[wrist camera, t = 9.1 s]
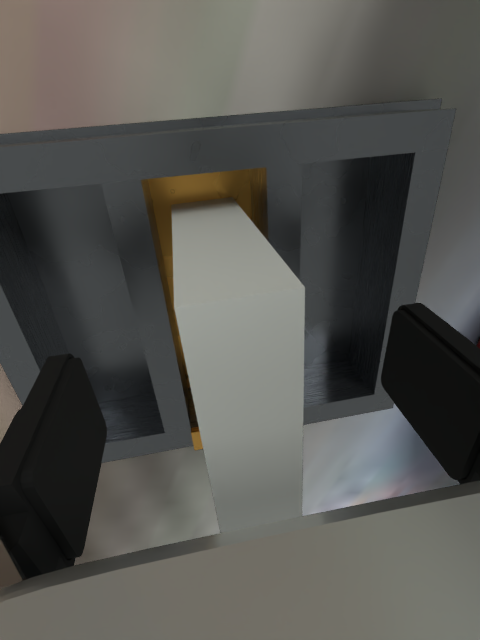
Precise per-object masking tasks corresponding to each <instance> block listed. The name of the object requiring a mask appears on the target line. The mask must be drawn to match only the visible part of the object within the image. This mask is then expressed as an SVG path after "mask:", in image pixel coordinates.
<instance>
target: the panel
mask: <svg viewBox="0 0 480 640" xmlns="http://www.w3.org/2000/svg"><path fill="white" fill-rule="evenodd" d="M171 209H172V246H173V283H174V309H175V314H176V319H177V324H178V329H179V334H180V338H181V343H182V348H183V353H184V358H185V363H186V368H187V372H188V377H189V382H190V387H191V392H192V397H193V402H194V406H195V411H196V416H197V421H198V426H199V431H200V436H201V440H202V445H203V450H204V455H205V460H206V465H207V469H208V474H209V479H210V484H211V489H212V494H213V499H214V503H215V508H216V513H217V518H218V523H219V528H220V533H225V532H230V531H235V530H239V529H244V528H249V527H253V526H258V525H263V524H268V523H273V522H278V521H282V520H287V519H292V518H297V517H302V480H303V403H304V326H305V287H304V285H303V284H302V283H301V282H300V281H299V279H298V278H297V277H296V276H295V274H294V273H293V272H292V271H291V269H290V268H289V267H288V266H287V264H286V263H285V262H284V261H283V259H282V258H281V257H280V256H279V254H278V253H277V252H276V251H275V249H274V248H273V247H272V246H271V245H270V243H269V242H268V241H267V240H266V238H265V237H264V236H263V235H262V233H261V232H260V231H259V230H258V228H257V227H256V226H255V225H254V223H253V222H252V221H251V220H250V218H249V217H248V216H247V215H246V213H245V212H244V211H243V210H242V209H241V207H240V206H239V205H238V204H237V202H236V201H235V200H234V199H233V197H229V198H221V199H213V200H205V201H197V202H189V203H181V204H173V205H171Z"/></svg>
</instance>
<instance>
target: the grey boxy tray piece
mask: <svg viewBox="0 0 480 640" xmlns="http://www.w3.org/2000/svg"><path fill="white" fill-rule="evenodd" d="M441 101H442V99H428V100H416V101H404V102H391V103H379V104H366V105H354V106H342V107H329V108H317V109H305V110H292V111H280V112H268V113H255V114H243V115H230V116H218V117H206V118H193V119H181V120H169V121H156V122H144V123H132V124H119V125H107V126H94V127H82V128H70V129H57V130H45V131H33V132H20V133H8V134H0V363H1V365H2V367H3V369H4V371H5V373H6V375H7V377H8V379H9V380H10V382H11V384H12V386H13V388H14V390H15V392H16V394H17V396H18V397H19V399H20V401H21V403H22V405H23V404H24V402H25V400H26V398H27V397H28V395H29V393H30V391H31V389H32V387H33V385H34V383H35V381H36V379H37V377H38V375H39V373H40V371H41V369H42V367H43V365H44V363H45V361H46V359H47V358H48V357H50V356H56V355H63V354H72V355H73V356H74V358H78V357H79V358H80V359H81V360H82V362H83V365H84V368H85V370H86V373H87V375H88V378H89V381H90V383H91V386H92V388H93V391H94V394H95V396H96V399H97V401H98V404H99V407H100V409H101V412H102V414H103V417H104V420H105V422H106V426H107V438H106V443H105V447H104V452H103V457H102V462H101V463H104V462H109V461H115V460H120V459H125V458H130V457H136V456H141V455H146V454H152V453H157V452H162V451H167V450H173V449H178V448H183V447H189V446H194V450H199V449H203V445H202V440H201V436H200V431H199V426H198V421H197V416H196V411H195V406H194V402H193V397H192V392H191V387H190V382H189V377H188V372H187V368H186V363H185V358H184V353H183V348H182V343H181V338H180V334H179V329H178V324H177V319H176V314H175V309H174V283H173V246H172V209H171V205H173V204H181V203H189V202H197V201H205V200H213V199H221V198H229V197H233V199H234V200H235V201H236V202H237V204H238V205H239V206H240V207H241V209H242V210H243V211H244V212H245V213H246V215H247V216H248V217H249V218H250V220H251V221H252V222H253V223H254V225H255V226H256V227H257V228H258V230H259V231H260V232H261V233H262V235H263V236H264V237H265V238H266V240H267V241H268V242H269V243H270V245H271V246H272V247H273V248H274V249H275V251H276V252H277V253H278V254H279V256H280V257H281V258H282V259H283V261H284V262H285V263H286V264H287V266H288V267H289V268H290V269H291V271H292V272H293V273H294V274H295V276H296V277H297V278H298V279H299V281H300V282H301V283H302V284H303V285H304V287H305V326H304V403H303V425H305V424H310V423H316V422H321V421H326V420H332V419H337V418H342V417H347V416H353V415H358V414H363V413H369V412H374V411H379V410H384V409H390V408H393V405H394V402H393V400H392V399H391V398H390V397H389V395H388V394H387V393H386V391H385V390H384V388H383V386H382V384H381V373H382V368H383V363H384V358H385V352H386V347H387V342H388V337H389V332H390V326H391V321H392V316H393V313H394V312H395V311H397V310H398V308H399V306H401V305H407V304H414V303H415V301H416V296H417V292H418V287H419V282H420V277H421V273H422V268H423V263H424V258H425V254H426V249H427V244H428V240H429V235H430V230H431V225H432V221H433V216H434V211H435V206H436V202H437V197H438V192H439V188H440V183H441V178H442V173H443V169H444V164H445V159H446V155H447V150H448V145H449V140H450V136H451V131H452V126H453V121H454V117H455V112H456V109H440V106H441Z"/></svg>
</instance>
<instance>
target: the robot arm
mask: <svg viewBox="0 0 480 640" xmlns="http://www.w3.org/2000/svg"><path fill="white" fill-rule="evenodd" d="M381 384H382V386H383V388H384V390H385V391H386V393H387V394H388V395H389V397H390V398H391V399H392V400H393V402H394V403H395V404H396V406H397V407H398V408H399V410H400V411H401V412H402V414H403V415H404V416H405V418H406V419H407V420H408V422H409V423H410V424H411V426H412V427H413V428H414V430H415V431H416V432H417V434H418V435H419V436H420V438H421V439H422V440H423V442H424V443H425V444H426V446H427V447H428V448H429V450H430V451H431V452H432V453H433V455H434V456H435V457H436V459H437V460H438V461H439V463H440V464H441V465H442V467H443V468H444V469H445V471H446V472H447V473H448V475H449V476H450V477H451V478H453V479H455V480H458V481H459V483H460V485H455V486H450V487H445V488H440V489H435V490H430V491H425V492H420V493H415V494H410V495H405V496H400V497H395V498H390V499H385V500H380V501H375V502H370V503H365V504H360V505H355V506H350V507H346V508H341V509H336V510H331V511H326V512H321V513H316V514H311V515H307V516H302V517H297V518H292V519H287V520H282V521H278V522H273V523H268V524H263V525H258V526H253V527H249V528H244V529H239V530H235V531H230V532H225V533H220V534H216V535H211V536H206V537H201V538H197V539H192V540H187V541H183V542H178V543H173V544H168V545H164V546H159V547H154V548H149V549H145V550H141V551H136V552H132V553H127V554H123V555H119V556H114V557H110V558H106V559H101V560H97V561H93V562H88V563H84V564H79V565H75V566H74V562H75V558H76V557H80V556H81V555H82V553H83V550H84V546H85V541H86V536H87V531H88V526H89V521H90V516H91V511H92V506H93V501H94V497H95V492H96V487H97V482H98V477H99V472H100V467H101V462H102V457H103V452H104V447H105V443H106V438H107V426H106V422H105V420H104V417H103V414H102V412H101V409H100V407H99V404H98V401H97V399H96V396H95V394H94V391H93V388H92V386H91V383H90V381H89V378H88V375H87V373H86V370H85V368H84V365H83V362H82V360H81V359H80V358H79V357H78V358H74V356H73V355H72V354H63V355H56V356H50V357H48V358H47V359H46V361H45V363H44V365H43V367H42V369H41V371H40V373H39V375H38V377H37V379H36V381H35V383H34V385H33V387H32V389H31V391H30V393H29V395H28V397H27V398H26V400H25V402H24V404H23V406H22V408H21V409H20V410H19V411H18V412H17V413H16V415H15V416H14V418H13V420H12V422H11V424H10V426H9V428H8V430H7V432H6V434H5V436H4V438H3V440H2V442H1V443H0V640H480V348H478V347H477V346H476V345H475V344H473V343H472V342H471V341H470V340H468V339H467V338H466V337H464V336H463V335H462V334H461V333H459V332H458V331H457V330H455V329H454V328H453V327H452V326H450V325H449V324H448V323H446V322H445V321H444V320H443V319H441V318H440V317H439V316H437V315H436V314H435V313H434V312H432V311H431V310H430V309H428V308H427V307H426V306H425V305H423V304H421V303H414V304H407V305H401V306H399V308H398V310H397V311H395V312H394V313H393V316H392V321H391V326H390V332H389V337H388V342H387V347H386V352H385V358H384V363H383V368H382V373H381Z"/></svg>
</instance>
